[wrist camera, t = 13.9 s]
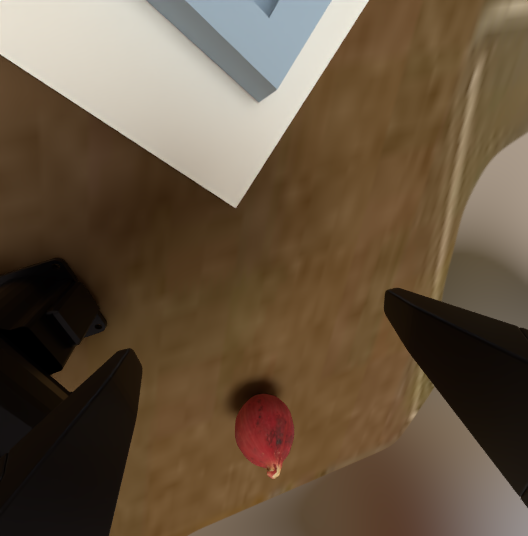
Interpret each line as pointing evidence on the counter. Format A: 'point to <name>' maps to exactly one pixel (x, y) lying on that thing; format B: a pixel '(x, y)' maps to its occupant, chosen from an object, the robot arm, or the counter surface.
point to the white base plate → (165, 82)
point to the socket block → (247, 35)
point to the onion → (265, 432)
